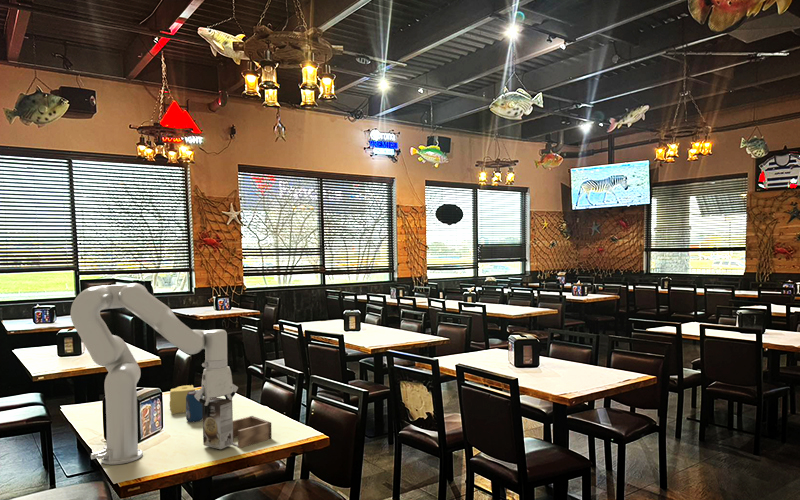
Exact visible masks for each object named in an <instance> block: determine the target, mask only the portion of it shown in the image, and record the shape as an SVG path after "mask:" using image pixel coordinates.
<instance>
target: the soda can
mask: <svg viewBox="0 0 800 500" xmlns="http://www.w3.org/2000/svg"><path fill="white" fill-rule="evenodd" d="M199 390H200V389H198V390H196V389H195V391H189V392H188V393H187V396H186V412H185V419H186V421H187V422H188V423H192V424H193V423H199V422H201V421H202V422H203V415H202V404H201V403H200V402H199V401H198V400H197V399H196V398H195V397H194V395H195V394H196V393H197V392H198V391H199ZM201 398H202V399H203V398H204V396H202V394H201Z"/></svg>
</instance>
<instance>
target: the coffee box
mask: <svg viewBox="0 0 800 500" xmlns="http://www.w3.org/2000/svg"><path fill="white" fill-rule="evenodd" d="M208 405H209V407H210V416H209V417H206V416H204V414H203V405H202V415H203V419H202V437H203V438H202V439H203V443H202V444H203V446H204V447H210V448H214V449H219V450H222V449H225V448H227V447H229V446H233V445H232V444H233V443H234V438H233V421H234V417H233V411H234V410H233V399H232V400H229V399H226V398H223V397H222V398H221V397H216V398H211V399H210V401H209V403H208Z"/></svg>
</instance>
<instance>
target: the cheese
mask: <svg viewBox="0 0 800 500" xmlns="http://www.w3.org/2000/svg"><path fill="white" fill-rule="evenodd" d="M169 390H170V393H169V410H170V413H171V415H174V414H181V413H186V396H187V393H188V392H189V391H195V390H196V389H195V387H194V385H193V384H191V385H190V384H189V385H187V384H186V385H181V386H177V387H175V388H171V389H169Z"/></svg>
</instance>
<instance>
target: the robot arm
mask: <svg viewBox="0 0 800 500" xmlns="http://www.w3.org/2000/svg"><path fill="white" fill-rule="evenodd" d="M123 308H125V309H127V310H128V311H129V312H130V313H132V314H134V315H135V316H136V317H137V318H139V319H140V320H142V321H143V322H145V324H148V325H149V327H151V328H152V329H153V330H154V331H156V332H157V333H158V334H160V335H161V337H163V338H164V339H166V340H167V341H168V342H169V343H170V344H172V345H173V346H175V347H176V348H178V349H179V350H180V351H182V352H183V353H185V354H187V355H196V354H198V353H200V352H201V351H202V350H205V352H204V354H205V355H204V356H205V357H204V358H205V360H204V362H202V364H201V366H202V367H203V368H204V369H203V371H202V372H203V373H202V376H201V377H202V378H201V388H200V389H198V390H199V391H198V392H197V393H196V394H195V395H194V397H195V398H196V399H197V400H198V401H199V402H200V403H201V404H202V405H203V414H204V416H206V417H209V416H210V407H209V405H208V403H209V401H210V399H211V398H216V397H217V398H221V397H224V399H229V400H232V401H233V397H234V396H235V395H236V393H237V391H238V389H239V387H238V386H237V385H236V384H234V383H233V376H232V370H231V368H230V366H228V333H227V331H226V329H209V330H208V329H207V330H205V329H191V328H190V327H189V326H188V325H186V324H185V323H184V322H182V321H181V320H180V319H179V318H178V317H177V316H176V315H175V314H174V312H173V310H172V309H171V308H170V306H168V305H166V304H165V303H163V302H162V301H160V300H159V299H158V298H157V297H156V296H154V295H152V294H151V293H150V292H149V291H148V289H147V288H146V286H144V285H142V284H141V283H137V282H133V283H123V284H111V285H108V284H107V285H105V284H104V285H96V286H90V287H88V288H85V289H84V290H82V291H81V292H79V293H78V294H77V296H76V297H75V299H74V300H73V301H72V304H71V307H70V320H71V323H72V324H73V326H74V329H75V330H76V332H77V334H78V336H79V337H80V339H81V342H82V343H83V345H84V346H85V348H86V350H87V352H88V353H89V356H90V357H91V359H92V361H93V363H95V364H96V365H98V366H101V367H105V369H106V370H107V372H108V373H107V374H106V375H105V379H104V395H105V397H104V398H105V414H106V415H105V417H106V418H105V419H106V421H105V422H106V423H105V424H106V446H103V449H101V450H100V451H96V452H92V453H90V459H91V460H94V459H97V460H101V463H102V464H105V465H122V464H127V463H128V464H129V463H132V462H134V461H137V460H139V459H141V458H142V457H143V454H144V452H143V451H144V450H142V449H141V448H140V449H139V448H138V447H139V443H138V442H139V440H138V439H139V438H138V432H139V431H138V428H139V427H138V399H137V398H138V393H137V384H138V383H139V380H140V378H141V373H142V372H141V367H140V366H139V364H138V362H137V360H136V359H135V357H134V355H133V353H132V351H131V350H130V348H129V346H128V345H127V343H126V342H125V341H124V339H123V338H121V337H120V336H118V335H116V334H115V335H114V334H112V332H111V331H110V329H109V327H108V326H107V325H108V324H106V322H105V321H104V319H103V318H102V316H101V313H100V312H101V311H104V310H108V309H123ZM201 394H202V396H203V399H202V398H201Z"/></svg>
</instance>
